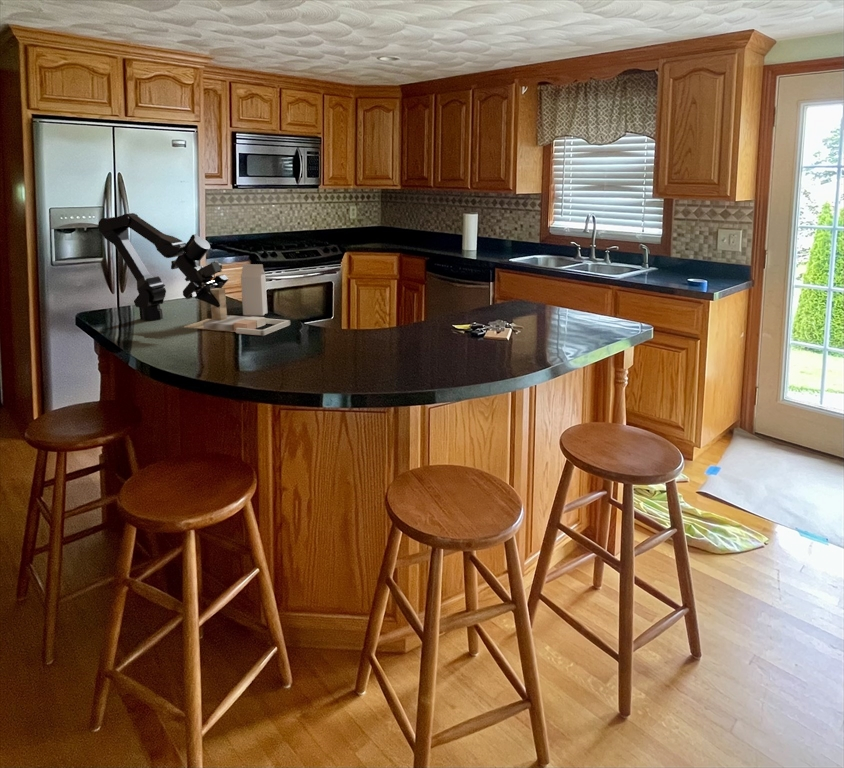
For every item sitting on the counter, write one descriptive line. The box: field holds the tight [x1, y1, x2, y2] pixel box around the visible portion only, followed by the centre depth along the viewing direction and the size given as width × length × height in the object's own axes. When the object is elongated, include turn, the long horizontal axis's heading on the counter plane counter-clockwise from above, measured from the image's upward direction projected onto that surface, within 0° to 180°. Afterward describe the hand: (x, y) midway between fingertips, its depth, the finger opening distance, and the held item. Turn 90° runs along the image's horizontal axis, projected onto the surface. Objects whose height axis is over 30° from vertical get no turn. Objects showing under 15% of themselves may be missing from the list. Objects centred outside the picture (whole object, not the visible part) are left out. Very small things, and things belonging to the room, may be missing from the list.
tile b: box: [234, 320, 257, 330], centre depth 243 cm, size 5×5×2 cm
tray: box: [235, 317, 291, 336], centre depth 245 cm, size 10×17×3 cm, turn 160°
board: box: [183, 318, 236, 333], centre depth 250 cm, size 21×14×2 cm, turn 70°
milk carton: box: [240, 263, 268, 317], centre depth 267 cm, size 7×7×19 cm
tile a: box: [244, 315, 266, 329], centre depth 249 cm, size 5×5×2 cm
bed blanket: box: [203, 287, 250, 332], centre depth 247 cm, size 11×13×12 cm
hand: (222, 305), depth 248 cm, fingers closed on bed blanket, 3 cm apart
